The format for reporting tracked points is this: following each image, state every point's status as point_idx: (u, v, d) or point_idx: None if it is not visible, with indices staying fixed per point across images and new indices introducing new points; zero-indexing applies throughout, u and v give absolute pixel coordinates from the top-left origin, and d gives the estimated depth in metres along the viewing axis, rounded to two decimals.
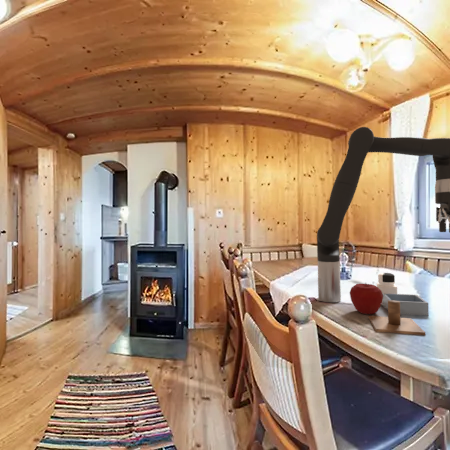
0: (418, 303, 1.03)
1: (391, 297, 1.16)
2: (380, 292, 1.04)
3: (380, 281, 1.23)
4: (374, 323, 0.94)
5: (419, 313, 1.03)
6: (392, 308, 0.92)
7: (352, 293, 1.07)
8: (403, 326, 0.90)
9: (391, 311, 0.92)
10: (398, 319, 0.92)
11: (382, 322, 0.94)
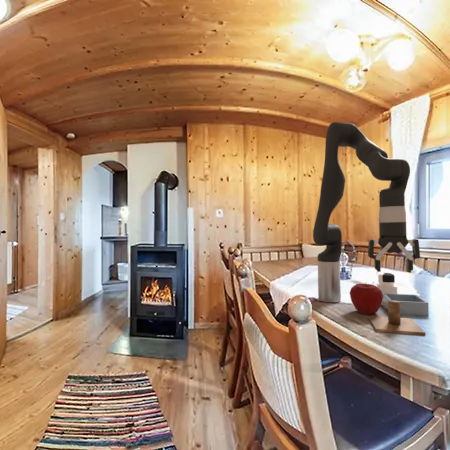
0: (418, 303, 1.03)
1: (391, 297, 1.16)
2: (380, 292, 1.04)
3: (380, 281, 1.23)
4: (374, 323, 0.94)
5: (419, 313, 1.03)
6: (392, 308, 0.92)
7: (352, 293, 1.07)
8: (403, 326, 0.90)
9: (391, 311, 0.92)
10: (398, 319, 0.92)
11: (382, 322, 0.94)
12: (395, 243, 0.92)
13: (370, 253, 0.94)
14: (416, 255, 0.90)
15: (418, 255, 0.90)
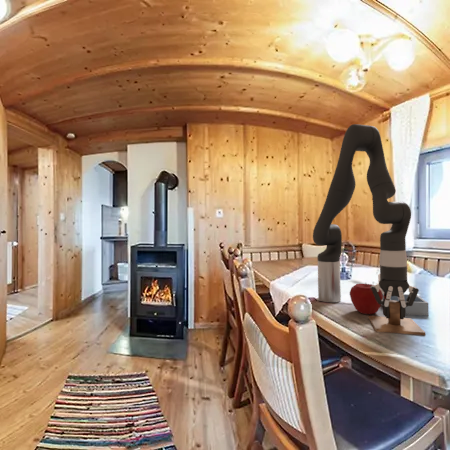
0: (418, 303, 1.03)
1: (391, 297, 1.16)
2: (380, 292, 1.04)
3: None
4: (374, 323, 0.94)
5: (419, 313, 1.03)
6: (392, 308, 0.92)
7: (352, 293, 1.07)
8: (403, 326, 0.90)
9: (391, 311, 0.92)
10: (398, 319, 0.92)
11: (382, 322, 0.94)
12: (396, 287, 0.92)
13: (377, 300, 0.93)
14: (408, 302, 0.91)
15: (410, 303, 0.91)
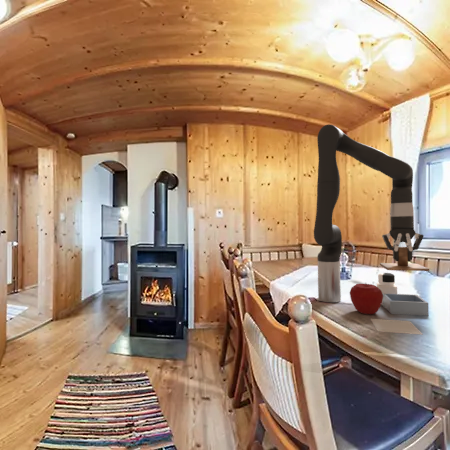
0: (418, 303, 1.03)
1: (391, 297, 1.16)
2: (380, 292, 1.04)
3: (380, 281, 1.23)
4: (385, 265, 1.10)
5: (419, 313, 1.03)
6: (401, 252, 1.09)
7: (352, 293, 1.07)
8: (410, 266, 1.07)
9: (400, 254, 1.09)
10: (406, 261, 1.08)
11: (392, 265, 1.11)
12: (404, 234, 1.09)
13: (388, 246, 1.10)
14: (415, 247, 1.08)
15: (416, 247, 1.07)
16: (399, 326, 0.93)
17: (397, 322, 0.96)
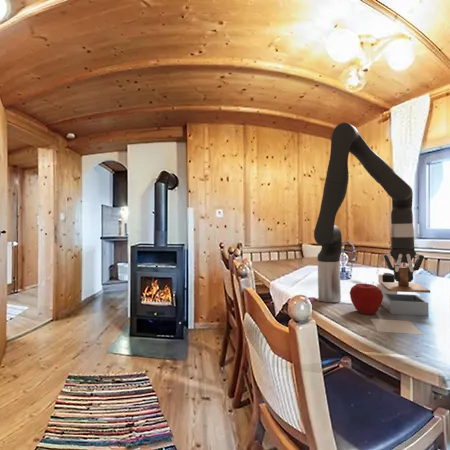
0: (418, 303, 1.03)
1: (391, 297, 1.16)
2: (380, 292, 1.04)
3: (380, 281, 1.23)
4: (386, 286, 1.10)
5: (419, 313, 1.03)
6: (401, 273, 1.09)
7: (352, 293, 1.07)
8: (411, 287, 1.07)
9: (401, 275, 1.09)
10: (407, 282, 1.08)
11: (393, 285, 1.11)
12: (405, 254, 1.09)
13: (389, 266, 1.10)
14: (415, 267, 1.08)
15: (417, 267, 1.07)
16: (399, 326, 0.93)
17: (397, 322, 0.96)
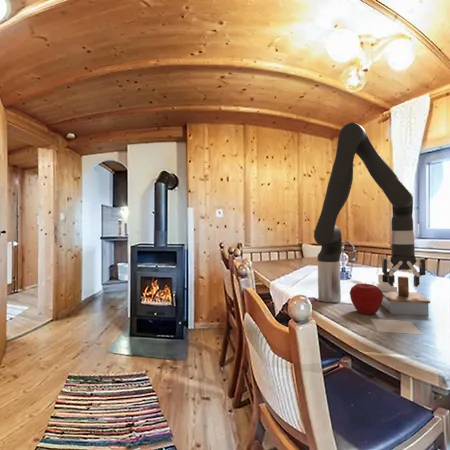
0: (418, 303, 1.03)
1: None
2: (380, 292, 1.04)
3: (380, 281, 1.23)
4: (386, 295, 1.10)
5: (419, 313, 1.03)
6: (401, 282, 1.09)
7: (352, 293, 1.07)
8: (411, 297, 1.07)
9: (401, 285, 1.09)
10: (407, 291, 1.08)
11: (393, 295, 1.11)
12: (405, 261, 1.09)
13: (384, 270, 1.11)
14: (422, 272, 1.07)
15: (424, 272, 1.07)
16: (399, 326, 0.93)
17: (397, 322, 0.96)
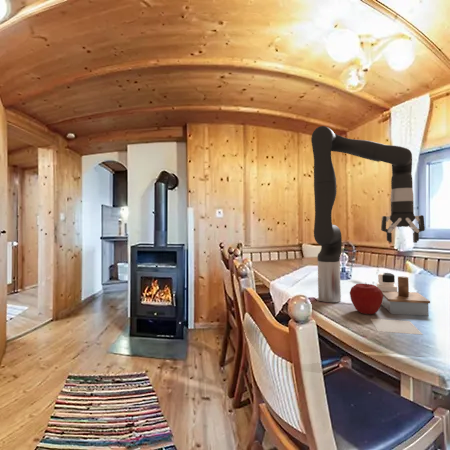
0: (418, 303, 1.03)
1: None
2: (380, 292, 1.04)
3: (380, 281, 1.23)
4: (386, 295, 1.10)
5: (419, 313, 1.03)
6: (401, 282, 1.09)
7: (352, 293, 1.07)
8: (411, 297, 1.07)
9: (401, 285, 1.09)
10: (407, 291, 1.08)
11: (393, 295, 1.11)
12: (404, 218, 1.11)
13: (383, 227, 1.14)
14: (421, 228, 1.10)
15: (423, 228, 1.09)
16: (399, 326, 0.93)
17: (397, 322, 0.96)
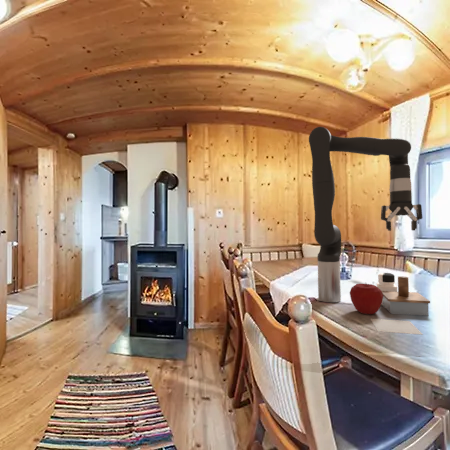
0: (418, 303, 1.03)
1: None
2: (380, 292, 1.04)
3: (380, 281, 1.23)
4: (386, 295, 1.10)
5: (419, 313, 1.03)
6: (401, 282, 1.09)
7: (352, 293, 1.07)
8: (411, 297, 1.07)
9: (401, 285, 1.09)
10: (407, 291, 1.08)
11: (393, 295, 1.11)
12: (403, 207, 1.17)
13: (383, 216, 1.19)
14: (419, 216, 1.15)
15: (421, 216, 1.15)
16: (399, 326, 0.93)
17: (397, 322, 0.96)
